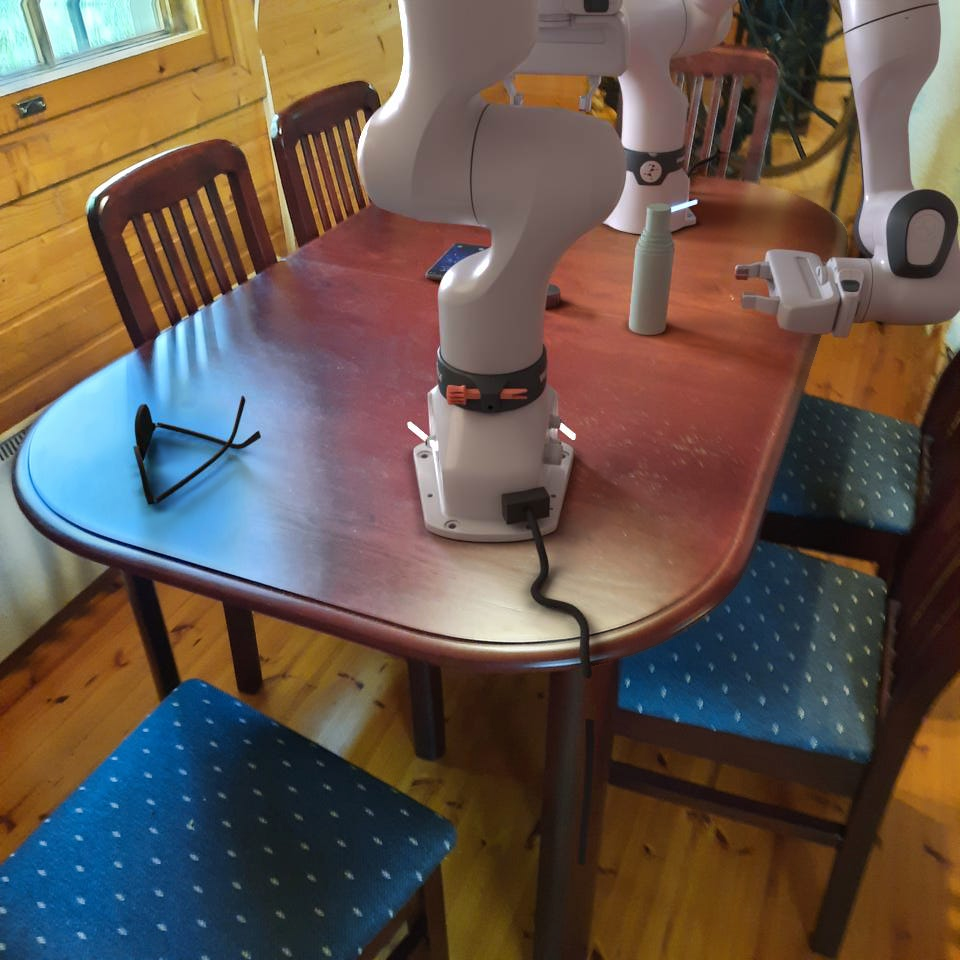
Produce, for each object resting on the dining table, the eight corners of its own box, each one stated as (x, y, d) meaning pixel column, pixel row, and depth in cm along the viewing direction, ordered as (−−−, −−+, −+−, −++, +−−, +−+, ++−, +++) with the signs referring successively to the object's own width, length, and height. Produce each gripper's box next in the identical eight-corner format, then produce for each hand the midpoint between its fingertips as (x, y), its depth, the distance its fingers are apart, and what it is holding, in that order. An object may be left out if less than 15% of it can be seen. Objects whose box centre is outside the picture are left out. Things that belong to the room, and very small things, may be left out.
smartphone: (493, 246, 151) (464, 280, 139) (493, 251, 151) (464, 285, 140) (454, 241, 153) (422, 274, 141) (454, 246, 153) (423, 279, 142)
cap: (532, 296, 136) (532, 283, 135) (560, 296, 136) (560, 283, 135) (530, 308, 133) (530, 295, 131) (559, 309, 132) (560, 296, 131)
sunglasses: (270, 486, 97) (262, 449, 94) (137, 510, 94) (125, 474, 91) (257, 411, 110) (250, 377, 107) (140, 430, 107) (130, 396, 104)
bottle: (672, 325, 127) (686, 205, 116) (652, 338, 124) (666, 216, 113) (641, 315, 130) (653, 197, 119) (621, 328, 127) (631, 208, 116)
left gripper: (468, -3, 108) (471, 112, 117) (630, -2, 104) (622, 118, 113) (479, -10, 113) (482, 101, 122) (635, -9, 109) (626, 106, 118)
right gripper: (832, 240, 126) (735, 236, 128) (860, 300, 110) (749, 295, 111) (822, 280, 130) (728, 276, 131) (848, 344, 113) (741, 338, 115)
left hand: (550, 109), depth 117 cm, fingers open, 8 cm apart
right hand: (738, 285), depth 121 cm, fingers open, 8 cm apart
